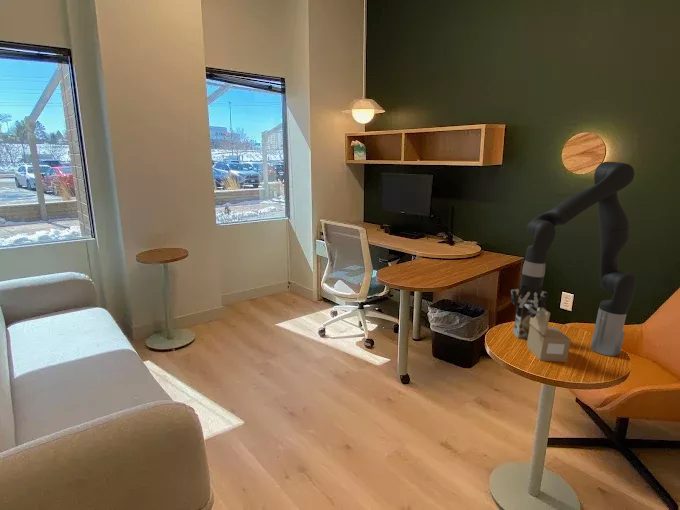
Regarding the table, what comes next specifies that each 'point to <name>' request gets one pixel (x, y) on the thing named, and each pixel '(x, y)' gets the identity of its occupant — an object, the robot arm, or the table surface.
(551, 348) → the carton
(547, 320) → the flap
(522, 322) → the coffee box
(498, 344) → the table surface
